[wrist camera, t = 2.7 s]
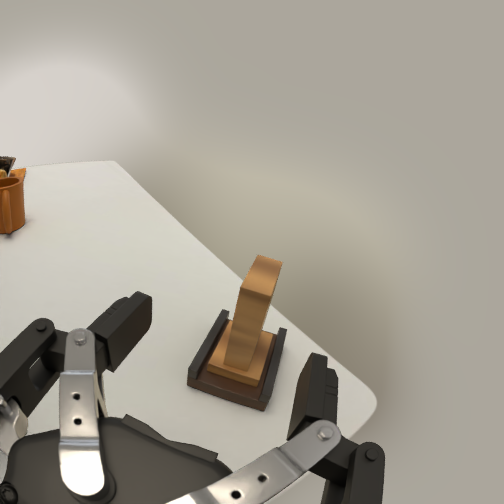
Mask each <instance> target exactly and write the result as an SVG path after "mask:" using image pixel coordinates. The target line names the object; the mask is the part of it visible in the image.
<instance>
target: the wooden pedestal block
mask: <svg viewBox="0 0 504 504" xmlns="http://www.w3.org/2000/svg"><path fill="white" fill-rule="evenodd" d="M281 266H282V262H280V261H277V260H274V259H271V258H267V257H264V256H261V255H258V256H257V257H256V259H255V261H254V263H253V265H252V266H251V268H250V270H249V272H248V274H247V276H246V278H245V279H244V281H243V283H242V285H241V287H240V291H239V295H238V300H237V304H236V309H235V313H234V317H233V321H229V323H228V325H227V327H226V329H225V331H224V333H223V335H222V337H221V339H220V341H219V343H218V345H217V347H216V349H215V351H214V353H213V355H212V357H211V359H210V361H209V362H208V367H207V371H209V372H212V373H215V374H218V375H221V376H224V377H226V378H229V379H232V380H235V381H238V382H242V383H245V384H248V385H251V386H254V387H257V385H258V383H259V380H260V377H261V374H262V370H263V367H264V364H265V360H266V357H267V354H268V350H269V347H270V343H271V340H272V336H273V334H271V333H268V332H265V331H262V328H263V325H264V322H265V319H266V316H267V312H268V309H269V306H270V303H271V299H272V296H273V293H274V290H275V286H276V283H277V280H278V276H279V273H280V269H281Z"/></svg>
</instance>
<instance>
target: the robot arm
mask: <svg viewBox="0 0 504 504" xmlns="http://www.w3.org/2000/svg"><path fill="white" fill-rule="evenodd" d="M151 322H152V297H151V296H149V295H146V294H144V293H141V292H139V291H137V292H135V293H134V294H133V295H132V296H131V297H130V298H128V297H124V298H121V299H119V300H117V301H116V302H114V303H113V304H112V305H111V306H110V308H108V309H107V310H106V311H105V312H104V313H103V314H101V315H100V316H99V317H98V318H97V319H96V320H95V321H94V322H93V323H92V324H91V325H90V326H89V327H88V328H86V329H83V328H79V329H75V330H73V331H71V332H70V333H68V332H64V331H60V330H56V329H55V327H54V324H53V322H52V321H51V320H49V319H46V318H40V319H37V320H35V321H33V322H32V323H31V324H30V325H29V326H28V327H27V328H26V329H25V330H24V331H22V332H21V333H20V334H19V335H18V336H17V337H16V338H15V339H14V340H13V341H12V342H11V343H10V344H9V345H8V346H7V347H6V348H5V349H4V350H3V351H2V352H1V353H0V450H2V451H3V452H4V453H5V454H6V455H7V456H8V463H7V470H6V474H5V477H4V480H3V481H2V483H1V484H0V504H263V503H265V502H266V501H268V500H269V499H271V498H272V497H273V496H275V495H276V494H278V493H279V492H280V491H282V490H283V489H285V488H286V487H287V486H289V485H290V484H291V483H293V482H294V481H295V480H297V479H298V478H299V477H301V476H302V475H303V474H304V473H306V472H307V471H310V472H312V473H314V474H316V475H319V476H321V477H323V478H325V479H326V482H325V486H324V491H323V496H322V500H321V504H382V495H383V484H384V468H385V454H384V451H383V449H382V448H381V447H380V446H379V445H378V444H376V443H373V442H365V443H362V444H361V445H358V444H356V443H354V442H352V441H350V440H348V439H346V438H345V437H343V436H342V435H341V432H340V429H339V428H338V427H337V403H338V397H337V396H338V377H337V375H336V372H335V370H334V369H330V368H327V360H328V358H327V356H324V355H320V354H316V353H313V352H312V353H311V354H310V356H309V358H308V360H307V362H306V364H305V366H304V368H303V370H302V372H301V374H300V376H299V379H298V382H297V387H296V393H295V398H294V404H293V409H292V415H291V420H290V425H289V430H288V435H287V439H286V440H287V441H288V442H287V443H285V444H284V445H282V446H281V447H276V448H274V449H272V450H270V451H269V452H267V453H266V454H264V455H263V456H261V457H259V458H258V459H256V460H255V461H253V462H251V463H250V464H248V465H246V466H244V467H243V468H241V469H239V470H238V471H236V472H234V473H233V472H232V471H231V470H230V469H229V468H228V467H227V466H226V465H225V464H224V463H222V462H221V461H219V460H218V459H216V458H217V456H218V453H216V452H213V451H210V450H207V449H204V448H201V447H199V446H196V445H192V444H186V443H180V442H175V441H170V440H167V439H165V438H164V437H163V436H161V435H160V434H159V433H158V432H156V431H155V430H154V429H152V428H151V427H150V426H149V425H147V424H145V423H143V422H141V421H139V420H137V419H135V418H133V417H131V416H130V415H128V414H126V415H125V416H124V418H123V419H122V418H117V417H108V414H107V410H106V403H105V394H104V382H103V372H104V371H105V370H106V369H107V370H109V371H111V372H113V373H114V371H115V370H116V369H117V368H118V366H119V365H120V364H121V363H122V361H123V360H124V359H125V358H126V357H127V355H128V354H129V353H130V352H131V350H132V349H133V348H134V347H135V346H136V344H137V343H138V342H139V341H140V340H141V338H142V337H143V336H144V335H145V334H146V332H147V331H148V330H149V328H150V325H151ZM39 357H40V358H39ZM38 358H39V359H38ZM37 359H38V360H37ZM36 360H37V361H36ZM35 361H36V362H35ZM34 362H35V363H34ZM33 364H34V365H33ZM32 365H33V366H32ZM31 366H32V367H31ZM30 367H31V368H30ZM59 377H60V384H59V424H60V429H56V430H52V431H47V432H43V433H38V434H33V435H28V436H25V435H26V434H27V428H28V419H27V418H28V417H29V415H30V414H31V413H32V411H33V410H34V409H35V407H36V406H37V405H38V403H39V402H40V401H41V400H42V398H43V397H44V396H45V394H46V393H47V392H48V391H49V389H50V388H51V387H52V386H53V384H54V383H55V382H56V381H57V379H58V378H59Z"/></svg>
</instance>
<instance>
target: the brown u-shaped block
mask: <svg viewBox="0 0 504 504" xmlns="http://www.w3.org/2000/svg"><path fill="white" fill-rule="evenodd" d="M228 317H229V311H227V310H224V309H222V311H221V313H220V314H219V316H218V318H217V319H216V321H215V323H214V325H213V326H212V328H211V330H210V332H209V333H208V335H207V337H206V339H205V340H204V342H203V344H202V346H201V347H200V349H199V351H198V352H197V354H196V356H195V358H194V359H193V361H192V363H191V365H190V366H189V368H188V377H187V385H188V386H191V387H193V388H196V389H199V390H201V391H204V392H207V393H209V394H212V395H215V396H218V397H221V398H224V399H226V400H229V401H232V402H235V403H239V404H242V405H245V406H248V407H251V408H255V409H258V410H262V411H264V410H265V408H266V406H267V404H268V402H269V400H270V397H271V394H272V391H273V387H274V383H275V379H276V375H277V371H278V366H279V362H280V358H281V354H282V350H283V345H284V341H285V337H286V332H287V329H284V328H281V327H280V328H279V331H278V333H277V335H276V334H273V333H271V334H273V336H272V340H271V343H270V347H269V350H268V354H267V357H266V360H265V364H264V367H263V370H262V374H261V377H260V380H259V383H258V385H257V387H254V386H251V385H248V384H245V383H242V382H238V381H235V380H232V379H229V378H226V377H224V376H221V375H218V374H215V373H212V372H209V371H207V367H208V362H209V361H210V359H211V357H212V355H213V353H214V351H215V349H216V347H217V345H218V343H219V341H220V339H221V337H222V335H223V333H224V331H225V329H226V327H227V325H228V323H229V321H232V320H229V319H228ZM262 331H263V330H262ZM265 332H266V331H265ZM268 333H270V332H268Z"/></svg>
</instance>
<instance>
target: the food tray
mask: <svg viewBox="0 0 504 504" xmlns="http://www.w3.org/2000/svg"><path fill="white" fill-rule="evenodd" d="M15 160H16V158H14V157H1V156H0V178H5V177H21V178H23V180H24V176H25V171H26V168H23V169H16V170H11V169H12V166H13V164H14V162H15Z"/></svg>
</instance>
